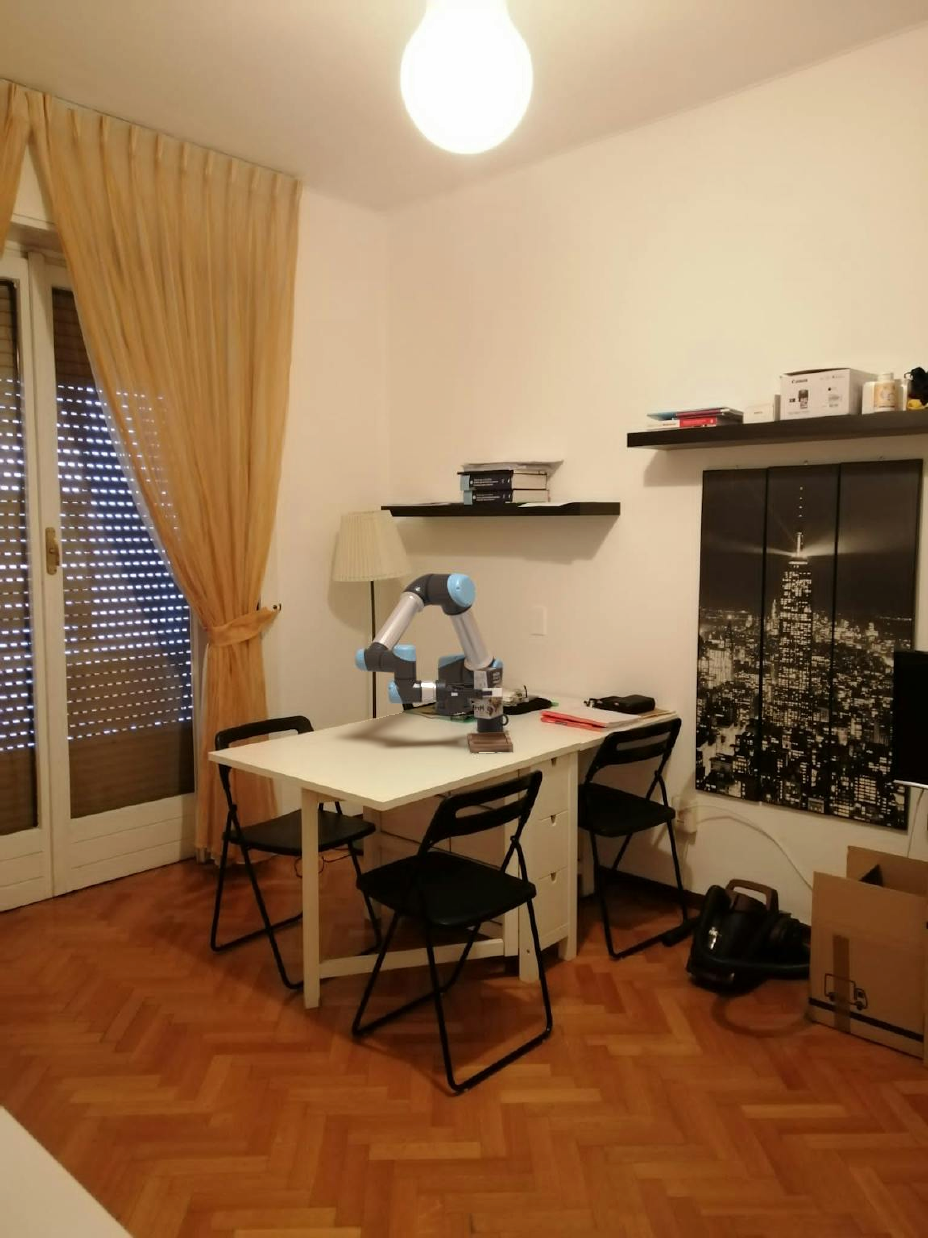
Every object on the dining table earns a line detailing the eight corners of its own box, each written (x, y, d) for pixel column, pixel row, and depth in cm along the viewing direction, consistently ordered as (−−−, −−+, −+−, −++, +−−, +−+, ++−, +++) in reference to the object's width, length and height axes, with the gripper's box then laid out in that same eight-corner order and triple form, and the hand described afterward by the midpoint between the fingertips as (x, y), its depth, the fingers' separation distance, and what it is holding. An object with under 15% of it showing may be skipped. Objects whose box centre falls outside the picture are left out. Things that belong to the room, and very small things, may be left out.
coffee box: (490, 719, 300) (489, 671, 298) (473, 717, 303) (472, 669, 301) (503, 714, 308) (503, 667, 306) (487, 712, 311) (486, 665, 309)
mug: (503, 736, 321) (502, 710, 320) (472, 733, 326) (472, 708, 325) (513, 730, 329) (513, 705, 328) (484, 727, 335) (483, 703, 334)
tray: (467, 740, 315) (467, 733, 315) (507, 739, 316) (507, 731, 316) (470, 754, 297) (470, 746, 297) (513, 752, 298) (513, 744, 298)
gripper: (434, 695, 315) (497, 693, 316) (435, 709, 292) (504, 707, 294) (434, 674, 315) (497, 672, 316) (435, 686, 292) (503, 684, 293)
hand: (500, 689), depth 305 cm, fingers closed on coffee box, 10 cm apart
